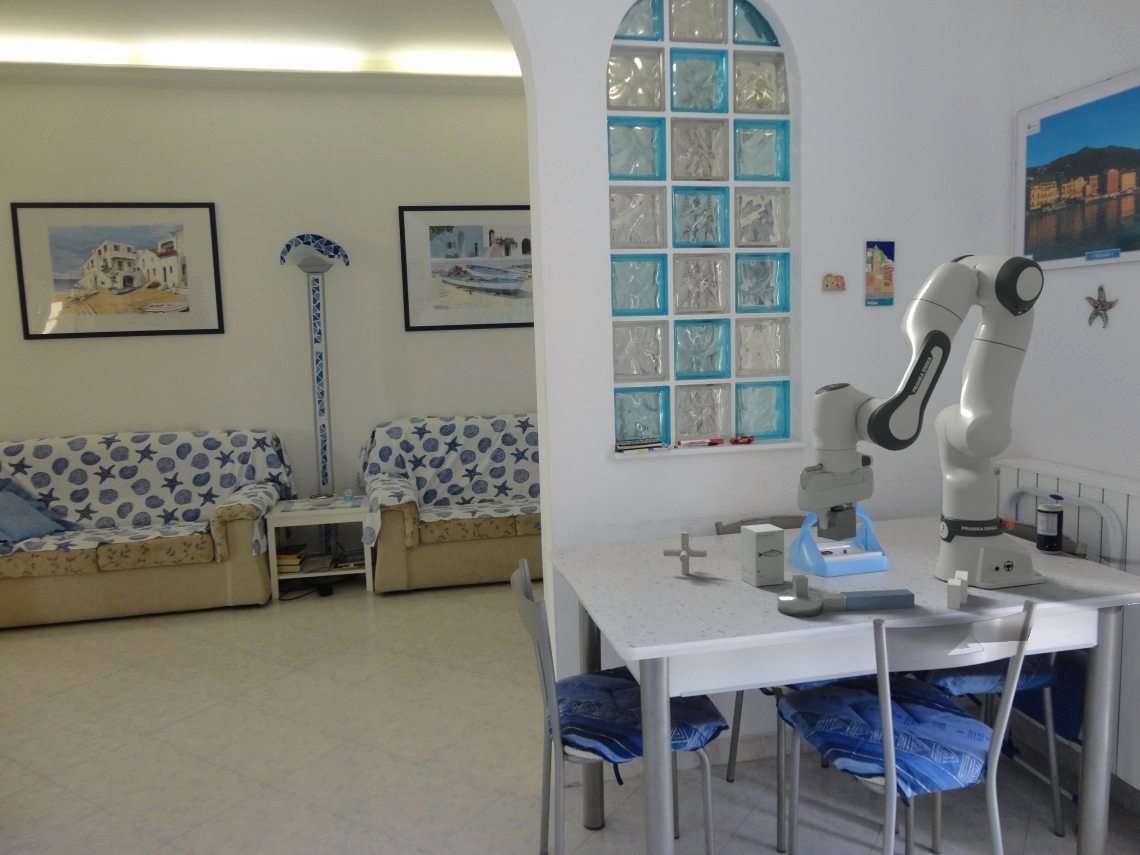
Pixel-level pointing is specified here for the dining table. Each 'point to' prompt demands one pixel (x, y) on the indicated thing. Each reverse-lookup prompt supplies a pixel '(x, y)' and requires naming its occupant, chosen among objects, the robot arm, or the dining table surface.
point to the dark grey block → (839, 523)
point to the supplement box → (762, 554)
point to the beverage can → (1049, 528)
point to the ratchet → (838, 600)
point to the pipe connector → (685, 552)
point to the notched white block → (957, 590)
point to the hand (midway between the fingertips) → (836, 525)
